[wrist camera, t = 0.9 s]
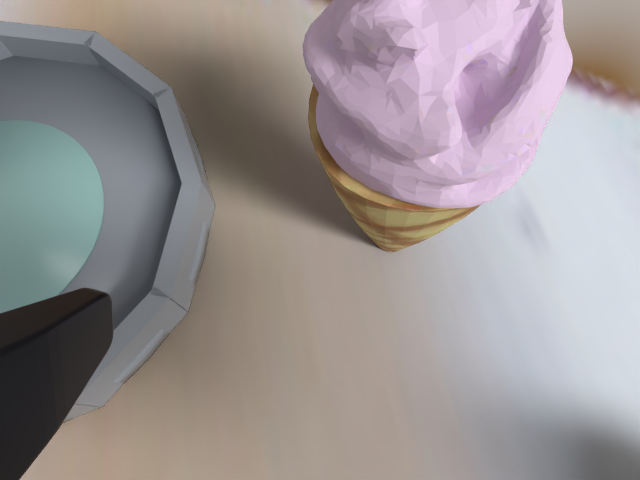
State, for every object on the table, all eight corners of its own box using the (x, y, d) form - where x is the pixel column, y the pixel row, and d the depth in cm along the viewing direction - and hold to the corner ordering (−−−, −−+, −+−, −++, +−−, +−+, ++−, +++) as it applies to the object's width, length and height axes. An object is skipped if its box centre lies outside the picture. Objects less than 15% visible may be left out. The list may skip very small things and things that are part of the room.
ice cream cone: (333, 157, 25) (318, -195, 11) (468, 170, 25) (631, -183, 10) (314, 294, 23) (264, 74, 9) (461, 312, 22) (658, 107, 8)
